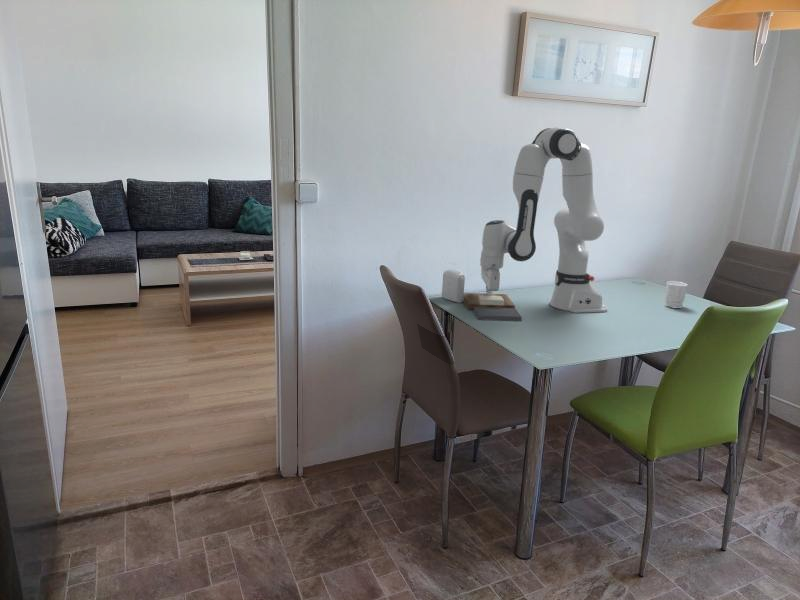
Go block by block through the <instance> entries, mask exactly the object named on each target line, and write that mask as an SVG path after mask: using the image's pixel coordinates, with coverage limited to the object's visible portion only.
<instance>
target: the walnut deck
mask: <svg viewBox="0 0 800 600" xmlns="http://www.w3.org/2000/svg"><path fill="white" fill-rule="evenodd" d="M479 295H484V296H487V295H486V293H480V292H479V293H475V292H474V293H472V292H464V298H463V302H464V304H465V307H466V308H467V310H468V311H474V307H492V308H515V309H516V304H515V303H514V302H513V300H512V299H510V297H509V296H508V294H506V293H492V296H501V297H502V298H503V299H504V305H480V303H479V301H478V296H479Z"/></svg>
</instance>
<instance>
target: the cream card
mask: <svg viewBox="0 0 800 600" xmlns="http://www.w3.org/2000/svg"><path fill="white" fill-rule="evenodd" d="M478 301H479V303H480V305H504V299H503V298H502V297H501V296H484V295H479V296H478Z"/></svg>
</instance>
